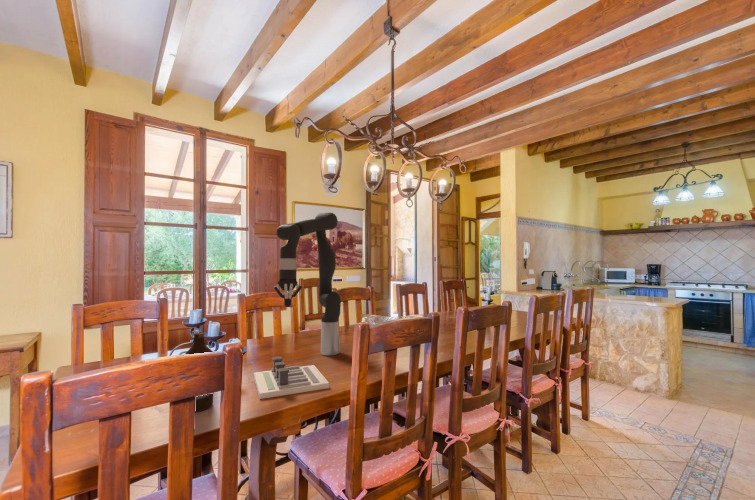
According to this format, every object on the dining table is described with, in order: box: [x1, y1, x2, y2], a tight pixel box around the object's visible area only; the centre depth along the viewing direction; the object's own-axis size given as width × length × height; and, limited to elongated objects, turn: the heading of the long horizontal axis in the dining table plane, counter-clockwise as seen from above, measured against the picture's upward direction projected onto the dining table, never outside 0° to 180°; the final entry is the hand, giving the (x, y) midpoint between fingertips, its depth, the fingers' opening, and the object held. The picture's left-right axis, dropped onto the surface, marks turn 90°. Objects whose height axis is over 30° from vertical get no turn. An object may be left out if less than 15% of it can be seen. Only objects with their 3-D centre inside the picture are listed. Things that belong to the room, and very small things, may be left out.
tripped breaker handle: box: [275, 361, 286, 379], centre depth 137 cm, size 4×4×6 cm
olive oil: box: [184, 332, 214, 413], centre depth 116 cm, size 11×11×25 cm
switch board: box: [253, 356, 330, 400], centre depth 139 cm, size 26×24×8 cm
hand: (287, 306), depth 152 cm, fingers closed
